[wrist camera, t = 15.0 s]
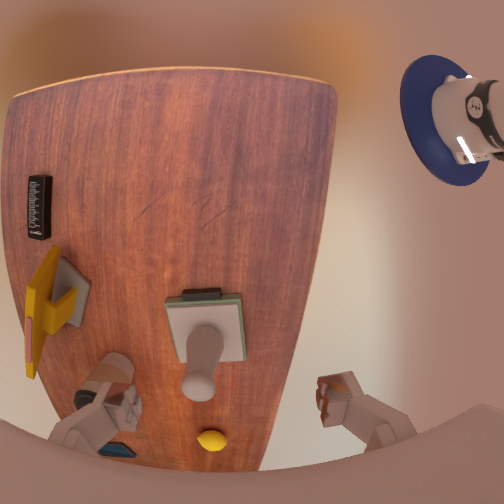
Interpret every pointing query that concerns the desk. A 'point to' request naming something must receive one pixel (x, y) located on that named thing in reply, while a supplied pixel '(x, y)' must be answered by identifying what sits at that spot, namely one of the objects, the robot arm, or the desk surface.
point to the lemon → (212, 440)
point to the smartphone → (116, 450)
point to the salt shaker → (202, 363)
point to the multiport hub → (39, 207)
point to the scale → (207, 320)
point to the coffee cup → (104, 377)
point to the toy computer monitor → (52, 304)
